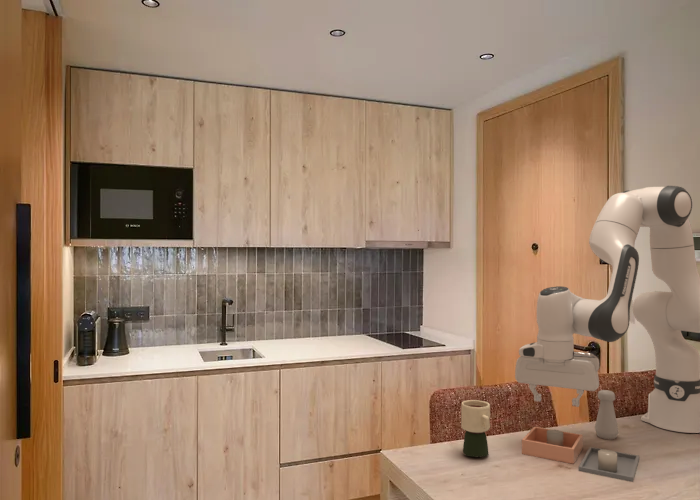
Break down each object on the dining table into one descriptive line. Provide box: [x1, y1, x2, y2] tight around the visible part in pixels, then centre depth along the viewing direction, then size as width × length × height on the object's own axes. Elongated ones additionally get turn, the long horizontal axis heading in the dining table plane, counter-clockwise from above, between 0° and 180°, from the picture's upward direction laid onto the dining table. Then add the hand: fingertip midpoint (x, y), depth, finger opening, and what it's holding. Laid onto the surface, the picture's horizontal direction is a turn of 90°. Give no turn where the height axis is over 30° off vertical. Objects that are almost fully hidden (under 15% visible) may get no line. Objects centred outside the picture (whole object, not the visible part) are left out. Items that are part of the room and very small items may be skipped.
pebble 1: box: [547, 429, 563, 446], centre depth 141 cm, size 4×4×4 cm
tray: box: [578, 446, 640, 483], centre depth 130 cm, size 15×11×1 cm
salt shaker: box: [594, 389, 619, 440], centre depth 149 cm, size 6×6×13 cm
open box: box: [521, 426, 584, 465], centre depth 139 cm, size 12×12×4 cm
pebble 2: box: [598, 449, 617, 473], centre depth 127 cm, size 4×4×4 cm
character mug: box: [460, 399, 491, 458], centre depth 137 cm, size 11×7×13 cm, turn 20°
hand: (556, 403), depth 141 cm, fingers open, 8 cm apart
